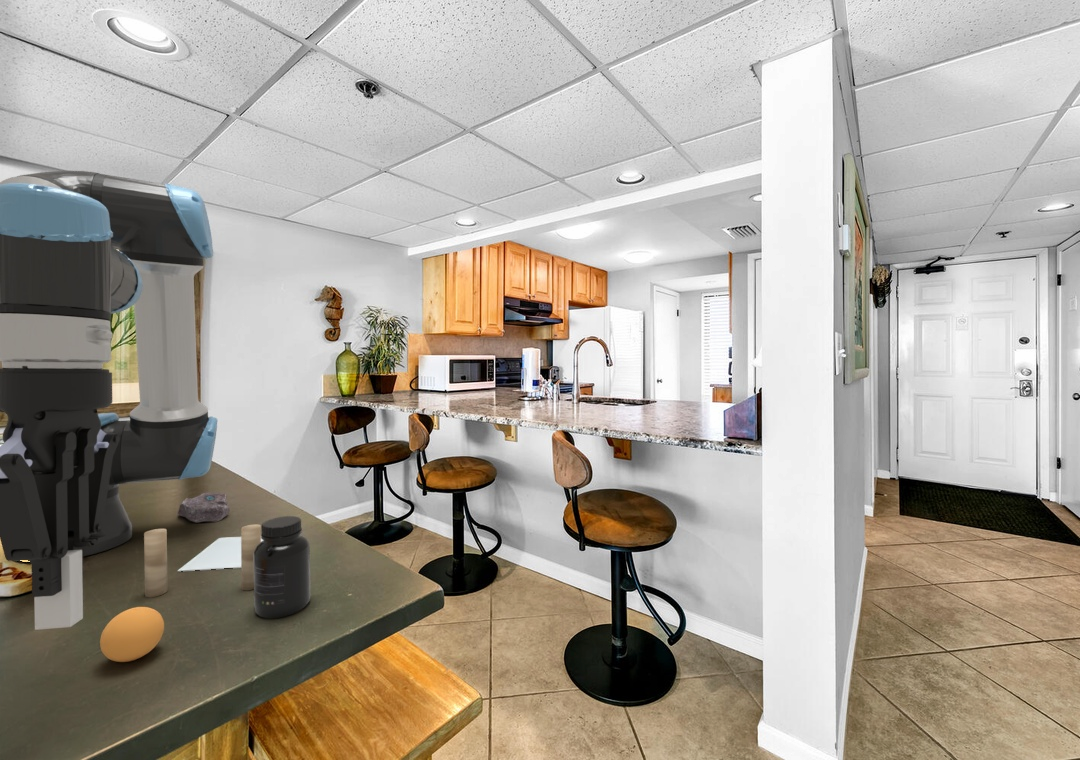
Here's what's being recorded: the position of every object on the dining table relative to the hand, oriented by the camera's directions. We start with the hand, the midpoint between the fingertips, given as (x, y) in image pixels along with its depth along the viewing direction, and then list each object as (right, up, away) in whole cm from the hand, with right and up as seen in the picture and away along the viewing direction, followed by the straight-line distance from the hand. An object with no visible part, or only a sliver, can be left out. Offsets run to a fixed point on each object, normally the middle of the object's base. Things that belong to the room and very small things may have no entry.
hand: (59, 623), depth 43 cm
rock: (-28, -7, +58) cm, 65 cm away
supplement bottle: (+8, -9, +22) cm, 25 cm away
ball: (-2, -7, +10) cm, 12 cm away
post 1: (-12, -9, +25) cm, 29 cm away
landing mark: (-8, -8, +40) cm, 42 cm away
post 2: (+1, -9, +27) cm, 29 cm away
